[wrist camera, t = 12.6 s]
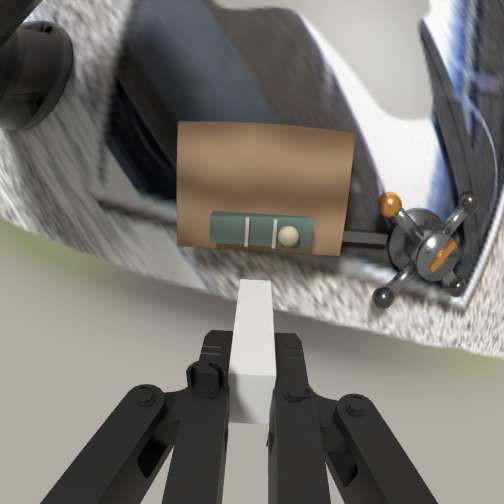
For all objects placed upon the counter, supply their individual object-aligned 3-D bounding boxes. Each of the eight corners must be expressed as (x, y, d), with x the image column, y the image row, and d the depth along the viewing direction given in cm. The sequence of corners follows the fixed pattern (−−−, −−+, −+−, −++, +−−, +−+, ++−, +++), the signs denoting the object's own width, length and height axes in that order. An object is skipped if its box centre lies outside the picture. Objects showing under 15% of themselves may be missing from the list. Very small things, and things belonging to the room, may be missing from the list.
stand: (189, 123, 29) (167, 120, 22) (342, 133, 29) (367, 133, 22) (187, 232, 34) (168, 259, 26) (330, 240, 34) (348, 270, 26)
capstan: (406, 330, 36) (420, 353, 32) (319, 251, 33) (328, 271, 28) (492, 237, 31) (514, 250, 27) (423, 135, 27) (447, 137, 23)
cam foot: (315, 195, 32) (319, 199, 30) (446, 211, 32) (455, 216, 30) (307, 264, 35) (309, 271, 33) (432, 270, 35) (439, 277, 33)
